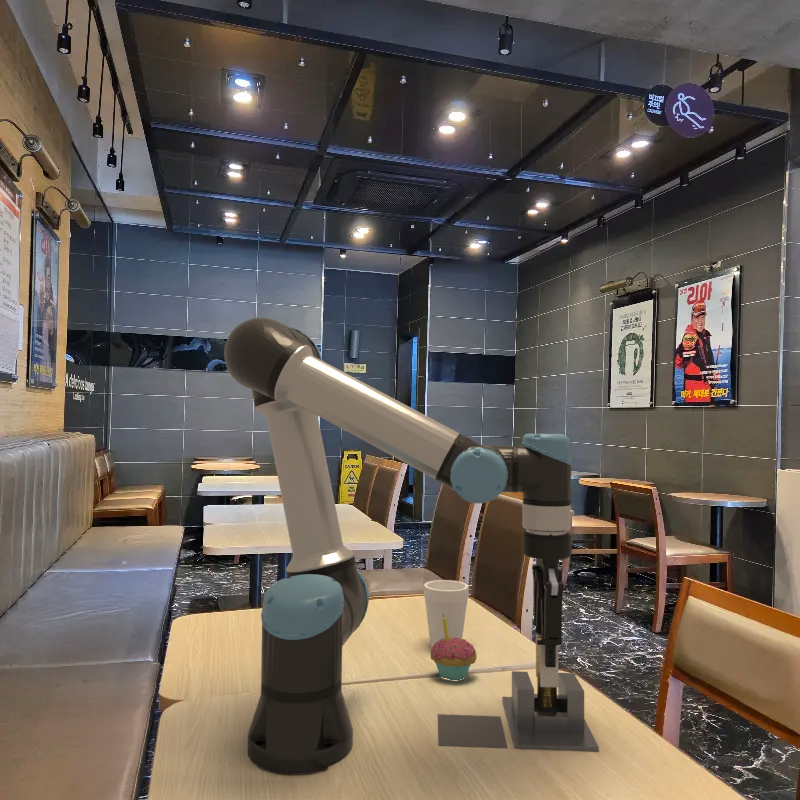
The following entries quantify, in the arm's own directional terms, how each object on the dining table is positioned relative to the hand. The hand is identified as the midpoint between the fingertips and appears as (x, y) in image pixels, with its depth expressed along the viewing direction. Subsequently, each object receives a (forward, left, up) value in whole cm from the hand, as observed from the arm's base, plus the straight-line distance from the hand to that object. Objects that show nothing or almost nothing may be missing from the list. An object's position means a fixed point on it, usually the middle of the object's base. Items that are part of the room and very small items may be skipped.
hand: (546, 681), depth 99 cm
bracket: (0, 0, -7) cm, 7 cm away
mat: (-12, -3, -7) cm, 14 cm away
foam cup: (-15, +34, -7) cm, 38 cm away
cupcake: (-14, +18, -7) cm, 24 cm away
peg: (0, 0, -3) cm, 3 cm away
